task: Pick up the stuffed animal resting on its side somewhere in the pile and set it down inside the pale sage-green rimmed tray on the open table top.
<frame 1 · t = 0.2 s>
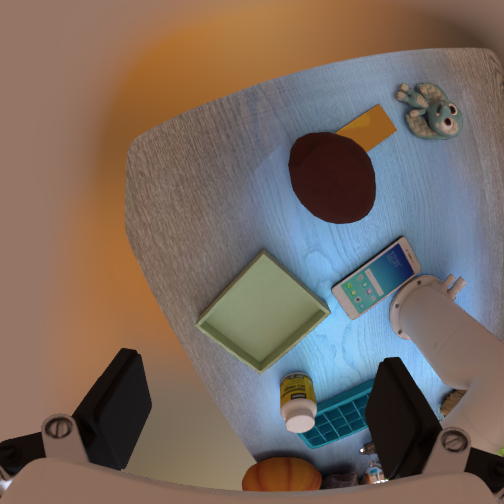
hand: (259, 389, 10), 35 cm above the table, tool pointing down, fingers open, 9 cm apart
smartphone: (377, 277, 46), on the table
pill bottle: (295, 382, 52), on the table
pumpkin: (280, 469, 60), on the table, touching rock
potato: (324, 175, 42), on the table
teapot: (499, 406, 47), point 7 cm above the table, touching cake
fossil: (467, 406, 51), point 2 cm above the table
stuffed animal: (398, 87, 36), point 2 cm above the table
gold rectangular slab: (356, 117, 39), point 1 cm above the table
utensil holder: (369, 482, 58), point 4 cm above the table
ice cube tray: (342, 409, 54), on the table
wineglass: (367, 448, 58), on the table
dark mineral chunk: (424, 424, 52), point 3 cm above the table
tray: (262, 312, 48), on the table
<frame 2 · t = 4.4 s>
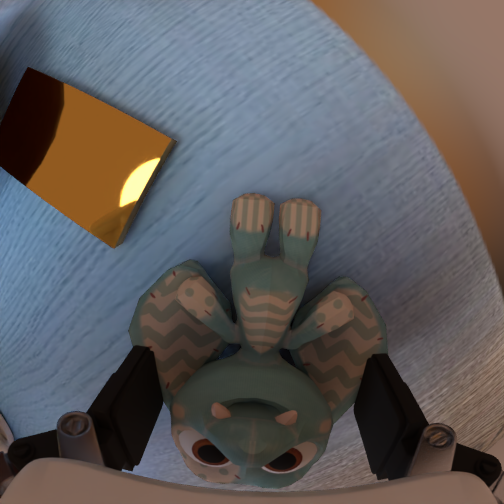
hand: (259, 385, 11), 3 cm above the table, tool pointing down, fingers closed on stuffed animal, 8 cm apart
stuffed animal: (279, 187, 9), point 2 cm above the table, touching gripper
gold rectangular slab: (94, 91, 10), point 1 cm above the table
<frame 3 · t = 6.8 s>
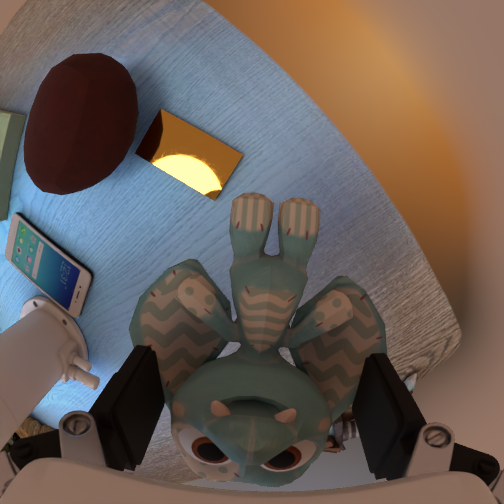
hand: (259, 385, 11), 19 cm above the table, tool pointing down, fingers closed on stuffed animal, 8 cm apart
smartphone: (46, 262, 31), on the table
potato: (109, 128, 26), on the table
fossil: (42, 447, 42), point 2 cm above the table
stuffed animal: (279, 186, 9), point 18 cm above the table, touching gripper
gold rectangular slab: (202, 129, 25), point 1 cm above the table
decorative knife: (421, 396, 31), point 2 cm above the table
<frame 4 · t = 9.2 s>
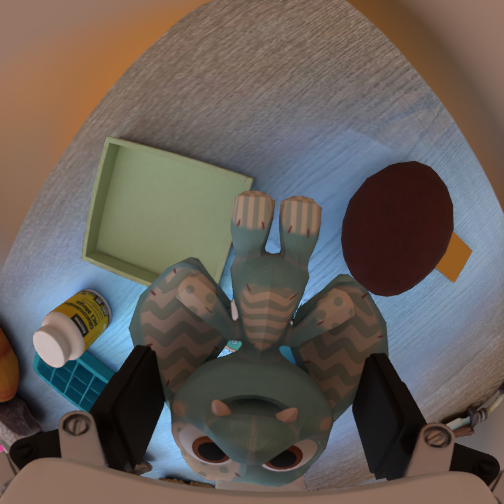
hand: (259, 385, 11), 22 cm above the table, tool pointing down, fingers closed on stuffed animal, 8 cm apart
smartphone: (277, 341, 35), on the table
pill bottle: (94, 308, 36), on the table
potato: (379, 218, 31), on the table
fossil: (178, 501, 45), point 3 cm above the table
stuffed animal: (280, 184, 9), point 22 cm above the table, touching gripper
gold rectangular slab: (452, 230, 30), point 1 cm above the table
ice cube tray: (94, 379, 39), on the table
supplement box: (24, 421, 46), on the table
dark mineral chunk: (133, 472, 42), point 3 cm above the table
tray: (163, 217, 32), on the table
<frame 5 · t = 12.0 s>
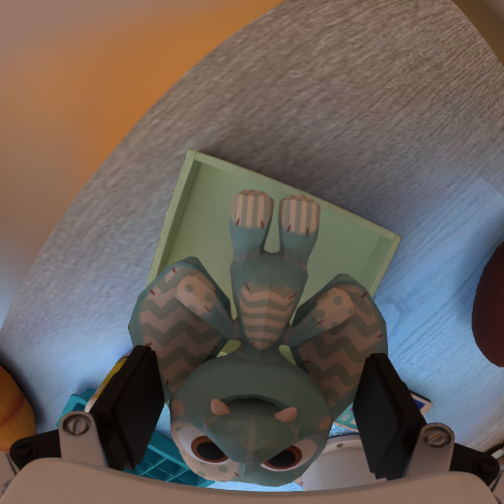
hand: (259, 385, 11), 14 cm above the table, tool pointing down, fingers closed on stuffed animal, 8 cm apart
smartphone: (372, 404, 28), on the table
pill bottle: (145, 373, 28), on the table
pumpkin: (2, 386, 31), on the table, touching rock
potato: (490, 276, 23), on the table
stuffed animal: (279, 183, 9), point 13 cm above the table, touching gripper
ice cube tray: (136, 441, 31), on the table
tray: (263, 272, 24), on the table
when the fingers open (5 cm above the table, at t = 14.4 s): stuffed animal stays where it is, resting on tray.
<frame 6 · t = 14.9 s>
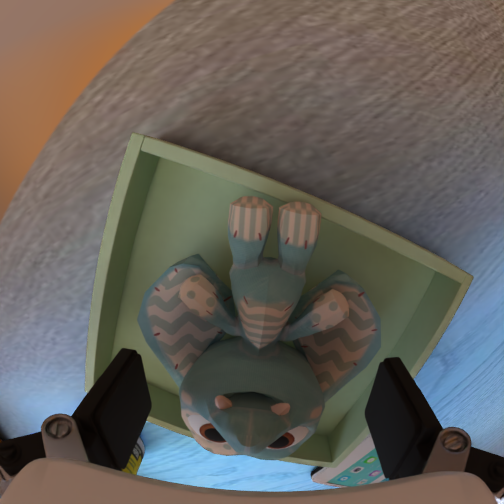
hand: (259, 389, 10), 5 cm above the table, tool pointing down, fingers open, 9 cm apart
smartphone: (395, 464, 19), on the table
pill bottle: (112, 431, 19), on the table
stuffed animal: (278, 194, 9), point 5 cm above the table, touching tray
tray: (261, 325, 15), on the table
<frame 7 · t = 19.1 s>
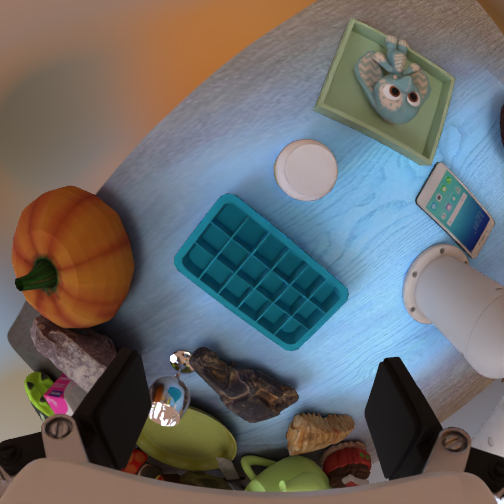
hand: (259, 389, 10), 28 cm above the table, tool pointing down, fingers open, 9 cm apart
smartphone: (457, 211, 36), on the table
pill bottle: (298, 170, 36), on the table
pumpkin: (87, 249, 39), on the table, touching rock
soccer cleat: (69, 425, 40), point 9 cm above the table, touching figurine
cake: (342, 451, 49), on the table, touching teapot
teapot: (317, 486, 43), point 7 cm above the table, touching cake
fossil: (303, 449, 45), point 2 cm above the table
rock: (52, 363, 38), point 7 cm above the table, touching pumpkin
stuffed animal: (398, 35, 25), point 5 cm above the table, touching tray
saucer: (184, 430, 48), on the table, touching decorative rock, figurine, knife
knife: (244, 474, 49), point 2 cm above the table, touching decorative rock, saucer
ice cube tray: (263, 271, 39), on the table
supplement box: (91, 372, 46), on the table
wineglass: (183, 361, 44), on the table
dark mineral chunk: (266, 412, 43), point 3 cm above the table
sword in stone: (141, 477, 49), point 4 cm above the table
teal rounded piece: (153, 487, 40), point 11 cm above the table, touching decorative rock, figurine
figurine: (107, 445, 48), point 3 cm above the table, touching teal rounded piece, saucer, soccer cleat
tray: (386, 92, 32), on the table
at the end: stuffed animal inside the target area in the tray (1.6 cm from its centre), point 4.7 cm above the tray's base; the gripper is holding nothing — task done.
